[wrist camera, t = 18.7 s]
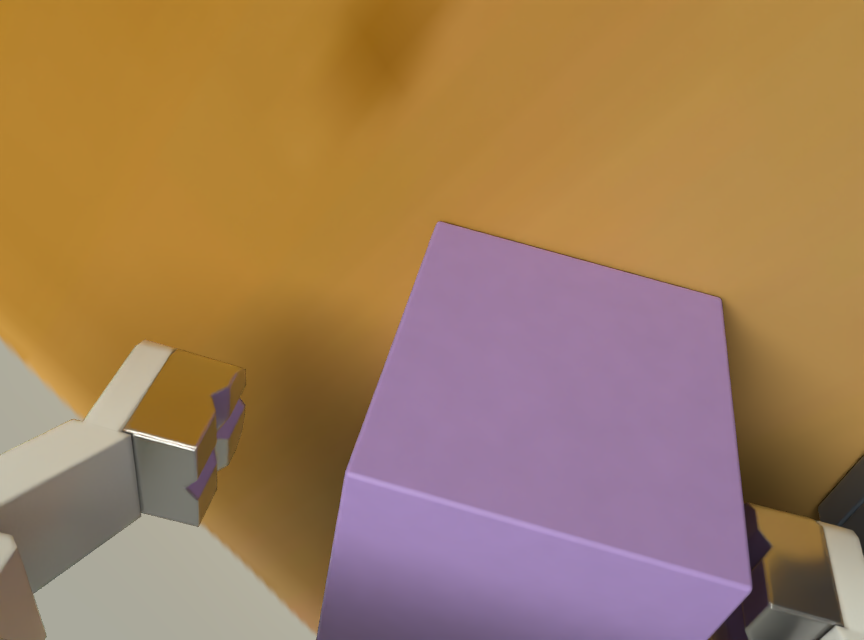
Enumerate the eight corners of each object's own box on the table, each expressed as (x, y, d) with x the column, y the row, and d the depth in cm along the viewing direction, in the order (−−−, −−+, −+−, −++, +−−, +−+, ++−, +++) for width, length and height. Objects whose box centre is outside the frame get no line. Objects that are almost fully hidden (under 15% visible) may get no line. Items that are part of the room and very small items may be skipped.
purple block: (723, 296, 12) (755, 591, 8) (623, 472, 15) (614, 745, 11) (437, 218, 12) (344, 473, 8) (395, 407, 15) (312, 656, 11)
